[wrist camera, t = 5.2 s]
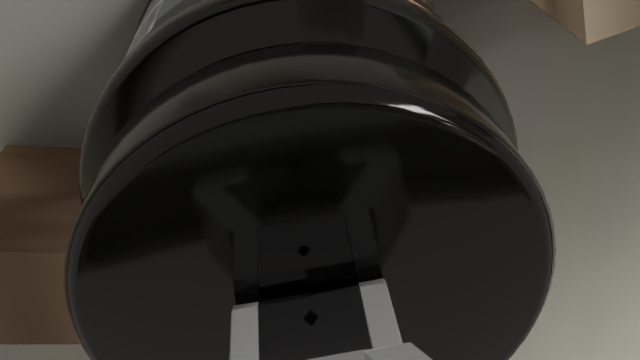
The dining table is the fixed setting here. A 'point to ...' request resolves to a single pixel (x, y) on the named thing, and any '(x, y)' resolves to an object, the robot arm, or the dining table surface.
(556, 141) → the dining table surface
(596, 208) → the dining table surface
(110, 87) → the supplement container
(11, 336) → the walnut block
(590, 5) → the beech block
